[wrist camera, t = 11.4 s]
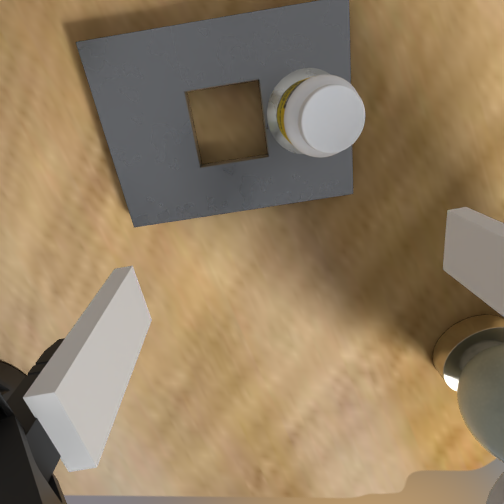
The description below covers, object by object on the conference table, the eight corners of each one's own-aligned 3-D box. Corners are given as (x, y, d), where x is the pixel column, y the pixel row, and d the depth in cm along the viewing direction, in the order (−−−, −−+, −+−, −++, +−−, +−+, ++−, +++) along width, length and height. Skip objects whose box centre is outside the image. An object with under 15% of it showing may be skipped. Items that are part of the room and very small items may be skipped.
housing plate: (139, 221, 35) (133, 228, 33) (85, 45, 28) (73, 41, 26) (347, 189, 34) (354, 194, 32) (342, 1, 28) (350, -6, 26)
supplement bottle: (285, 71, 28) (307, 56, 19) (345, 89, 28) (394, 85, 20) (267, 137, 30) (279, 152, 21) (323, 153, 31) (358, 174, 22)
